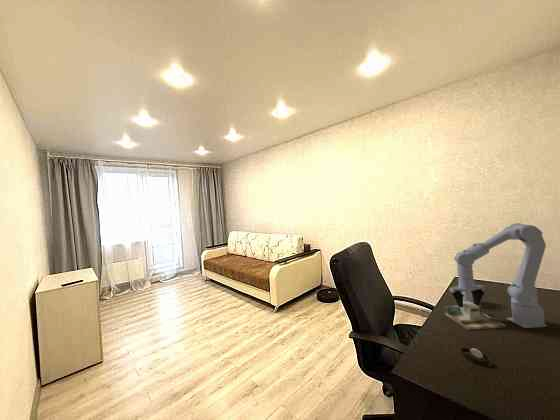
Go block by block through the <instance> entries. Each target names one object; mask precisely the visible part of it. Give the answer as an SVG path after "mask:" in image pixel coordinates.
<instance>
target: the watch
mask: <svg viewBox="0 0 560 420" xmlns="http://www.w3.org/2000/svg"><path fill="white" fill-rule="evenodd" d="M461 353H462V356H463V358H465V359H466V360H468V361H469V362H471V363H474V364H478V365H479V366H488V365H489V364H490V358H489V357H488V356H487V355H485V354H484V353H482V352H481V351H480V350H479V349H477V348H467V347H463V348H461ZM465 353H470V354H471V355H473V357H476V358H478V359H476V358H473V357H471V356H468V355H467V354H465ZM482 358H483V359H485V361H483V360H479V359H482Z"/></svg>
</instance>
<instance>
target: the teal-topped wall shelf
mask: <svg viewBox="0 0 560 420" xmlns="http://www.w3.org/2000/svg"><path fill="white" fill-rule="evenodd" d="M479 311H480V319H473V320H470V319H468V318H466V317H465V316H463V315H461V314H460V307H459V306H458V304H457V305H445V312H444V315H446V317H448V318H450V319H451V320H452V321H454V322H456V323H457V324H458V325H461V326H462V327H463V328H464V329H466V330H467V331H472V330H486V329H498V328H499V329H500V328H501V329H502V328H507V326H506V324H505V323H503V322H501V321H500V318H498V317H492V316H489V315H488V314H486V313H484V312H482V305H481V304H479Z"/></svg>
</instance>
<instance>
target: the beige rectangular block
mask: <svg viewBox="0 0 560 420" xmlns="http://www.w3.org/2000/svg"><path fill="white" fill-rule="evenodd" d="M460 314H461V315H463V316H465V317H466V318H468V319H470V320H473V319H480V311H479V306H477V305H475V304H473V303H471V302H470V301H463V307H462V308H461V307H460Z"/></svg>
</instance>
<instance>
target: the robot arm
mask: <svg viewBox="0 0 560 420" xmlns="http://www.w3.org/2000/svg"><path fill="white" fill-rule="evenodd" d="M510 240H515V241H516V240H517V241H521V242H522V243H523V245H524V246H525V250H524V253H523V256H522V259H521V263H520V266H519V269H518V273H517V276H516V279H515V280H512V282H511V284H510V285H509V286H508V287H507V289H506V291H507V294H508V295H509V296H510V297H511V298H510V306H511V316H512V317H506V320H507V321H510V322H512V323H514V324H515V325H517V326H520V327H522V328H524V329H529V328H531V329H533V328H544V327H545V328H546V327H548V325H547V324H545V323H546V322H545V313H544V309H543V307H542V306H541V305H540V304H539V303H538V302H539V298H538V295H537V294H538V289H537V288H536V286H535V283H536V280H537V278H538V273H539V270H540V267H541V263H542V261H543V257H544V255H545V254H544V253H545V251H546V246H547V243H546V241H545V239H544V237H543V231H542V230H540V229H539V228H538V227H536V226H535V225H531V224H525V223H524V224H522V223H513V224H510V225H509V226H507V227H505V228H503V229H502V230H500V231H499V232H498V233H497V234H495V235H493V236H492V237H490V238H489V239H487V240H486V241H484V242H477V243H476V242H474V243H472V244H471V245H472V246H470V247H468V248H466V249H463V250H462V251H459V252H457V253H456V254H455V256H454V260H455V262H456V266H457V268H456V269H457V277H458V278H457V279H458V285H455V286H451V287H449V292H450V293H451V294H452V296H453V297H454V299H455V301H456V304H457V305H458V306H459V307H461V308H462V307H463V296H464V295H463V294H462V293H461V292H462V291H471V292H472V296H473V302H474V304H475V305H477V306H479V304H480V303H481V301H482V298H483V296H484V295H485V286H484V285H481V284H475V285H474V283H475V280H474V278H475V277H474V271H473V265H474V264H475V261H478V260H479V259H481V258H483V257H485V256H486V255H488V254H490V250H491V249H493V248H494V247H497V246H498V245H500V244H502V243H505V242H507V241H510ZM480 305H481V304H480Z"/></svg>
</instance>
